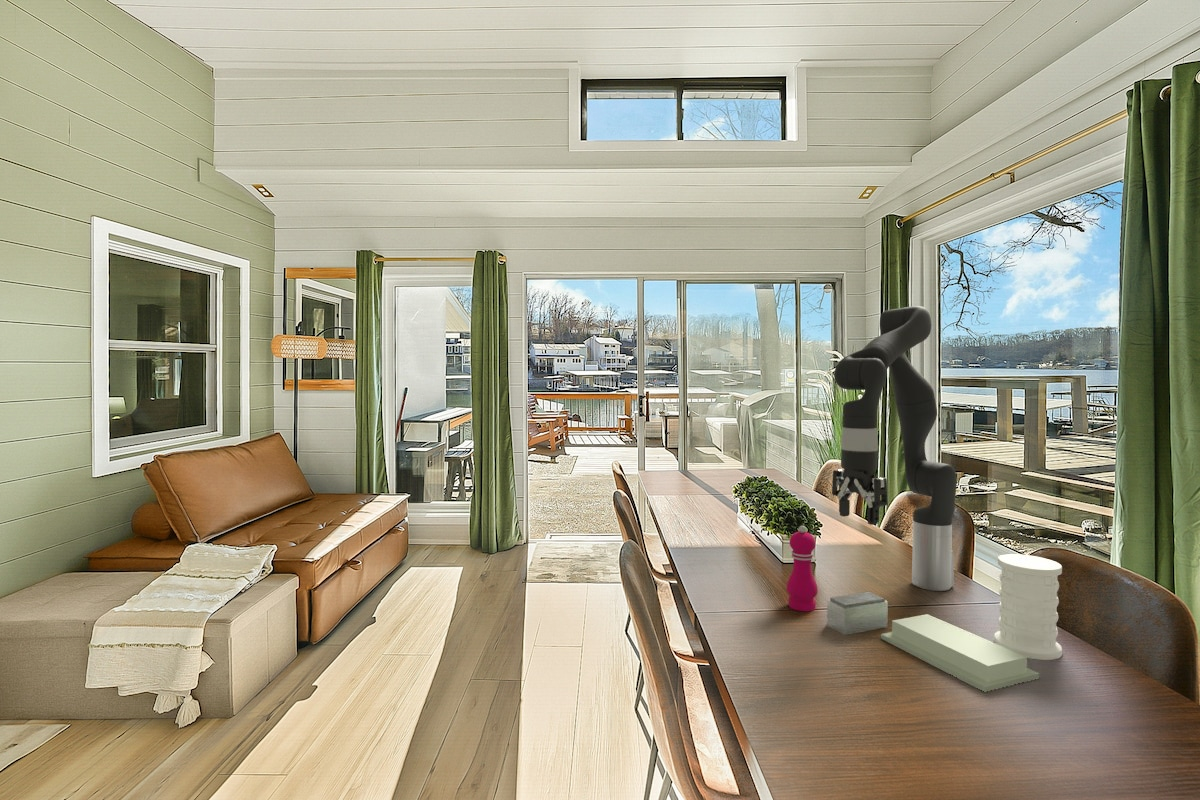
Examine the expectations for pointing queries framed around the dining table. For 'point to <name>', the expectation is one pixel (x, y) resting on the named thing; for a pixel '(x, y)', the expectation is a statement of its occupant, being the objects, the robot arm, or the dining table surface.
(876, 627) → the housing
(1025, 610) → the decorative container
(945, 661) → the stand
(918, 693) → the dining table surface
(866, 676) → the dining table surface
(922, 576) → the robot arm
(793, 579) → the pepper mill
